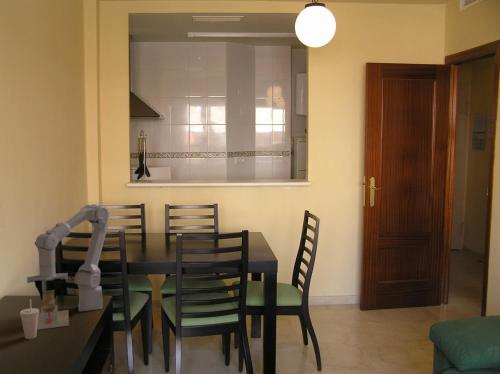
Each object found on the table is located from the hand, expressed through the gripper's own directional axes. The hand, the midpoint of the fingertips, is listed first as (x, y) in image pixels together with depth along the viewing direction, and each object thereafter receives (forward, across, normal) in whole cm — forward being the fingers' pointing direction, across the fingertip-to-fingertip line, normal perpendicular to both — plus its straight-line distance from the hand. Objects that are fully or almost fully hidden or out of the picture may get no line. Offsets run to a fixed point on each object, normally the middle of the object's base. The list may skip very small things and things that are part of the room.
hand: (48, 298), depth 181 cm
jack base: (+9, 0, 0) cm, 9 cm away
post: (+5, 0, 0) cm, 5 cm away
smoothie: (+10, -6, -13) cm, 17 cm away
